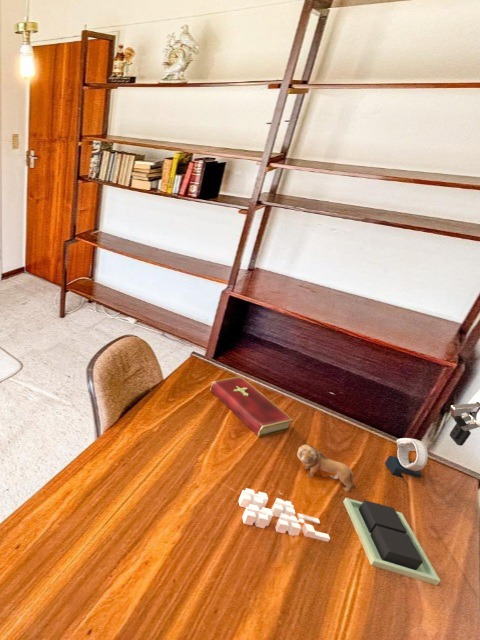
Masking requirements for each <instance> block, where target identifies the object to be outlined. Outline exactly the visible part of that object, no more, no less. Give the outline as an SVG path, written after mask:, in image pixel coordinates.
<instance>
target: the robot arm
mask: <svg viewBox="0 0 480 640" xmlns="http://www.w3.org/2000/svg"><path fill="white" fill-rule="evenodd" d="M449 409H450V416H451V417H452V419H453V421H454V422H455V425H454V426H453V428H452V429H451V431H450V432H449V437H450V438H451V439H452V441H453V442H454V443H455V444H456V445H457V446H464V444H465V443H466V442H467V440H468V439H469V437H470V436H471V434H472V432H471V431H472V430H474V429H477V428H480V389H479V390H477V392H476V393H475V394H474V396H472V398H470V400H469V401H468V403H461V404H452V405H450V406H449ZM469 421H471V422H469Z"/></svg>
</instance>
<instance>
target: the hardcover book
mask: <svg viewBox="0 0 480 640" xmlns="http://www.w3.org/2000/svg"><path fill="white" fill-rule="evenodd" d="M209 387H210V388H209V390H210V392H212V394H213V395H214V396H215V397H217V398H218V399H219V400H220V401H221V402H222V403H223V404H224V405H225V406H226V407H227V408H228V409H229V410H230V411H231V412H232V413H233V414H234V415H236V417H238V419H240V421H242V422H243V423H244V424H245V425H246V426H247V427H248V428H249V429H250V430H251V431H252V432H253V433H254V434H255V435H256V436H257V437H259V438H260V437H261V438H262V437H265V436H270V435H274V434H277V433H282V432H286V431H290V430H291V428H290V427H289V426H290V424H291V422H294V418H292V417H291V416H290V415H288V413H286V412H285V411H284V410H283V409H282V408H280V407H278V405H277V404H276V403H274V402H273V401H272V400H270V399H269V398H268V397H267V396H266V395H264V394H263V393H262V392H261V391H260V390H258V388H256V387H255V386H254V385H252V384H251V383H250V382H249V381H247V380H246V379H245V378H244V377H243V376H241V375H240V376H235V377H229V378H224V379H218V380H213V381H212V382H211V384H210V386H209Z"/></svg>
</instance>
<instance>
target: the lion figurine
mask: <svg viewBox="0 0 480 640" xmlns="http://www.w3.org/2000/svg"><path fill="white" fill-rule="evenodd" d="M296 456H297V458H298V459H299V460H300V461H301V462H302V464H303V465H304V466H303V468H304V469H305V470H310V471H309V472H308V473H306V476H307V477H309V478H313V477H314V475H315V474H316V472H318V471H319V470H320V471H323V472H326V473H331V474H330V475H329V477H330V478H331V479H333V480H340V482H341V483H342V484H343V485H344V486H345V487H342V490H344V491H345V492H348V493H349V492H350V491H351V490H352V489H353V488H354V489H355V488H356V485H355V484H354V480H355V476H354V472H353V471H352V469H351V468H350V466H348V465H347V464H345V463H344V462H342V461H338V460H334V459H330V458H328V457H326V456H325V455H324V453H323V452H321V451H320V450H318V449H317V448H315V447H314V446H312V445H309V444H302V445H300V446H299V447H298V450H297V452H296ZM333 473H335V475H333ZM351 488H352V489H351Z"/></svg>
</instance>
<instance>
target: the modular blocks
mask: <svg viewBox="0 0 480 640" xmlns="http://www.w3.org/2000/svg"><path fill="white" fill-rule="evenodd" d="M268 501H269V497H268V494H267V493H266V492H264V491H263V492H262V491H258V492H257V493H255V489H251V488H247V487H246V488H245V490H244V489H242V491H241V493H240V496H239V498H238V504H239V507H241V508H244V511H243V514H242V517H241V518H242V522H243V524H245V525H248V526H253V524H254V525H255V527H256V528H260V529H265V528H266V527H269V526H270V523H271V521H272V519H273V517H276V518H278V519H277V520H276V521H275V522H276V524H275V526H274V529H275V532H276V533H280V534H284V535H285V534H286V533H288V536H291V537H295V536H299V534H300V533H301V531H302V533H303V536H304V537H306V538H311V539H315V540H319V541H323V542H326V543H329V542H330V541H331V537H330V535H329V534H328V533H325V532H321V531H318V530H315V528H314V525H313V524H309V523H306V522H310V523H314V524H317V525H320V524H321V522H320V519H319V518H317V517H314V516H311V515H307V514H303V513H299V512H296V510H295V505H293V504H292V501H289V500H284V499H282V498H279V497H275V501H274V503H273V504H272V506H271V508H268V507H266V506H267V503H268ZM296 515H297V516H296ZM305 521H306V522H305ZM300 523H301V524H303V526H301V524H300Z"/></svg>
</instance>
